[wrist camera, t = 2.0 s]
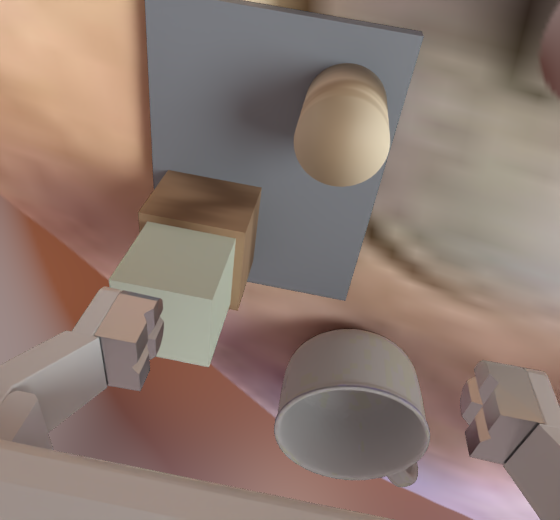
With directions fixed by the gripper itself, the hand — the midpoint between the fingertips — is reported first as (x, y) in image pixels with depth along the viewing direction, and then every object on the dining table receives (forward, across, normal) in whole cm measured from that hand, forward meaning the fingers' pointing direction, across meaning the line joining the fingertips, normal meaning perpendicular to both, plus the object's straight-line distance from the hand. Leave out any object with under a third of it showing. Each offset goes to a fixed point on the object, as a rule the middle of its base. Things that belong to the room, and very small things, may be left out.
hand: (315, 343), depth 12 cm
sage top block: (+12, +7, +9) cm, 17 cm away
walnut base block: (+17, +7, +9) cm, 21 cm away
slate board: (+18, +4, +5) cm, 19 cm away
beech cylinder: (+17, 0, 0) cm, 17 cm away
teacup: (+19, -6, +22) cm, 29 cm away
